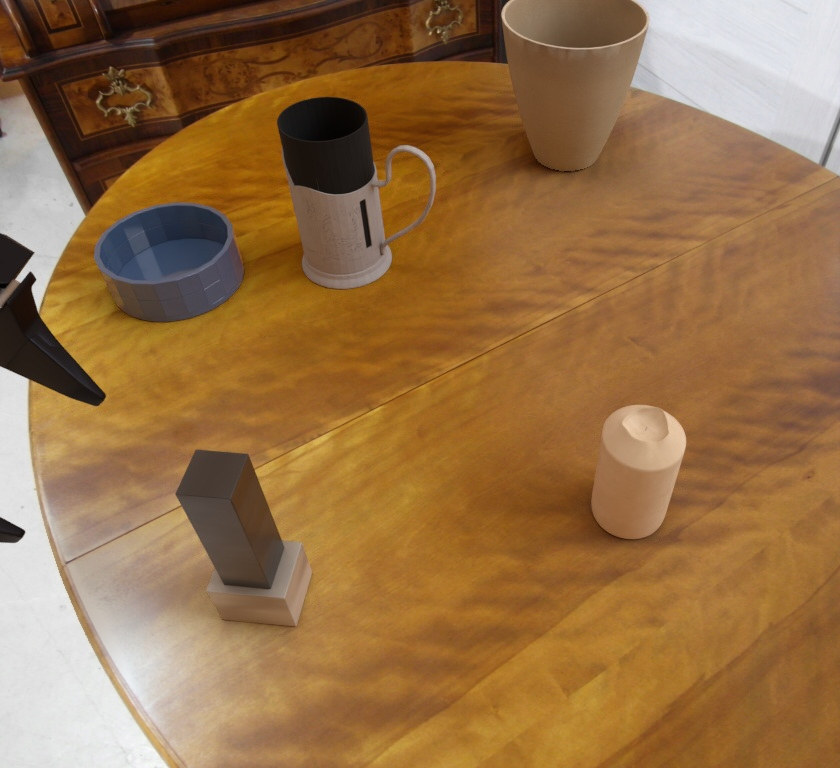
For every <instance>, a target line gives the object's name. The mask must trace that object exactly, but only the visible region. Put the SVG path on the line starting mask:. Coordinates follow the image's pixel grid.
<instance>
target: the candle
mask: <svg viewBox="0 0 840 768" xmlns="http://www.w3.org/2000/svg"><path fill="white" fill-rule="evenodd" d="M686 448H687V436H686V433H685V430H684V428H683V427H682V425H681V423H680V422H679V421H678V420H677V419H676V418H675V417H674V416H673V415H671V414H670V413H669V412H667V411H665V410H664V409H662V408H661V407H658V406H652V405H648V404H632V405H626V406H623V407H620V408H618V409H616V410H615V411H614V412H612V413H611V414H610V415H609V416H608V417H607V418H606V420H605V422H604V423H603V426H602V431H601V438H600V443H599V449H598V456H597V461H596V466H595V467H596V468H595V473H594V480H593V481H594V482H593V486H592V492H591V500H590V506H591V507H590V508H591V512H592V515H593V517H594V519H595V521H596V523H597V524H598V525H599V526H600V527H601V528H602V529H603V530H604V531H605V532H607V533H609V534H610V535H612V536H614V537H617V538H620V539H625V540H638V539H639V540H640V539H644V538H646V537H649V536H651V535H653V534H654V533H655V532H657V531H658V529H659V528H660V527H661V525H662V524H663V522H664V520H665V517H666V514H667V512H668V508H669V505H670V502H671V499H672V495H673V492H674V489H675V485H676V482H677V478H678V475H679V472H680V468H681V465H682V462H683V458H684V456H685V455H684V454H685V452H686Z"/></svg>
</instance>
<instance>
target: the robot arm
mask: <svg viewBox="0 0 840 768" xmlns="http://www.w3.org/2000/svg"><path fill="white" fill-rule="evenodd" d="M35 253H36V252H35V251H33V250H32V249H30V248H28V247H27V246H25V245H23V244H21V242H19V241H17V240H15V239H14V238H12V237H11V236H9V235H7V234H5V233H3V232H2V233H1V232H0V368H3V369H5V370H7V371H9V372H12V373H14V374H16V375H18V376H20V377H23V378H25V379H27V380H30V381H31V382H34V383H36V384H38V385H41V386H42V387H46V388H47V389H49V390H51V391H53V392H56V393H57V394H60V395H63V396H65V397H67V398H70V399H72V400H75V401H78V402H80V403H84V404H87V405H89V406H93V407H99V406H100V405H102V404H103V402H105V399H106V398H107V394H106V392H105V391H104V390H102V387H100V386H99V384H97V383H96V382H95V380H94V379H93V378H92V377H91V376H90V375H89V373H88V372H86V370H85V369H84V368H83V367H82V366H81V365H80V363H78V362H77V360H76V359H75V358H74V357H73V356H72V355H71V354H70V352H69V351H67V349H65V347H64V345H62V343H60V342H59V340H58V339H57V338H56V336H55V335H54V334H53V332H52V331H51V330H50V328H49V327H48V326H47V324H46V323H45V322H44V320H43V319H42V317H41V315H40V313H39V311H38V307H37V304H36V300H35V296H34V293H33V286H34V284H35V283H36V282H37V278H36V276H35V274H34V273H33V272H32V271H30V270H29V271H28V273H27V274H26V275H25V277H24V278H23V279H22V280H21V282H20V281H18V280H16V279H18V276H19V275H20V274H21V272H22V271H23V270H24V268H25V267H26V265H27V264H28V263H29V262H30V260H31V259H32V257H33V256H34V255H35ZM25 535H26V530H25V529H23V528H22V527H20V526H19V525H16V524H14V523H13V522H11V521H9V520H7V519H6V518H3V517H2V516H0V543H1V544H16V543H18V542H20V541H21V540H22V539H23V538H24V537H25Z"/></svg>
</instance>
